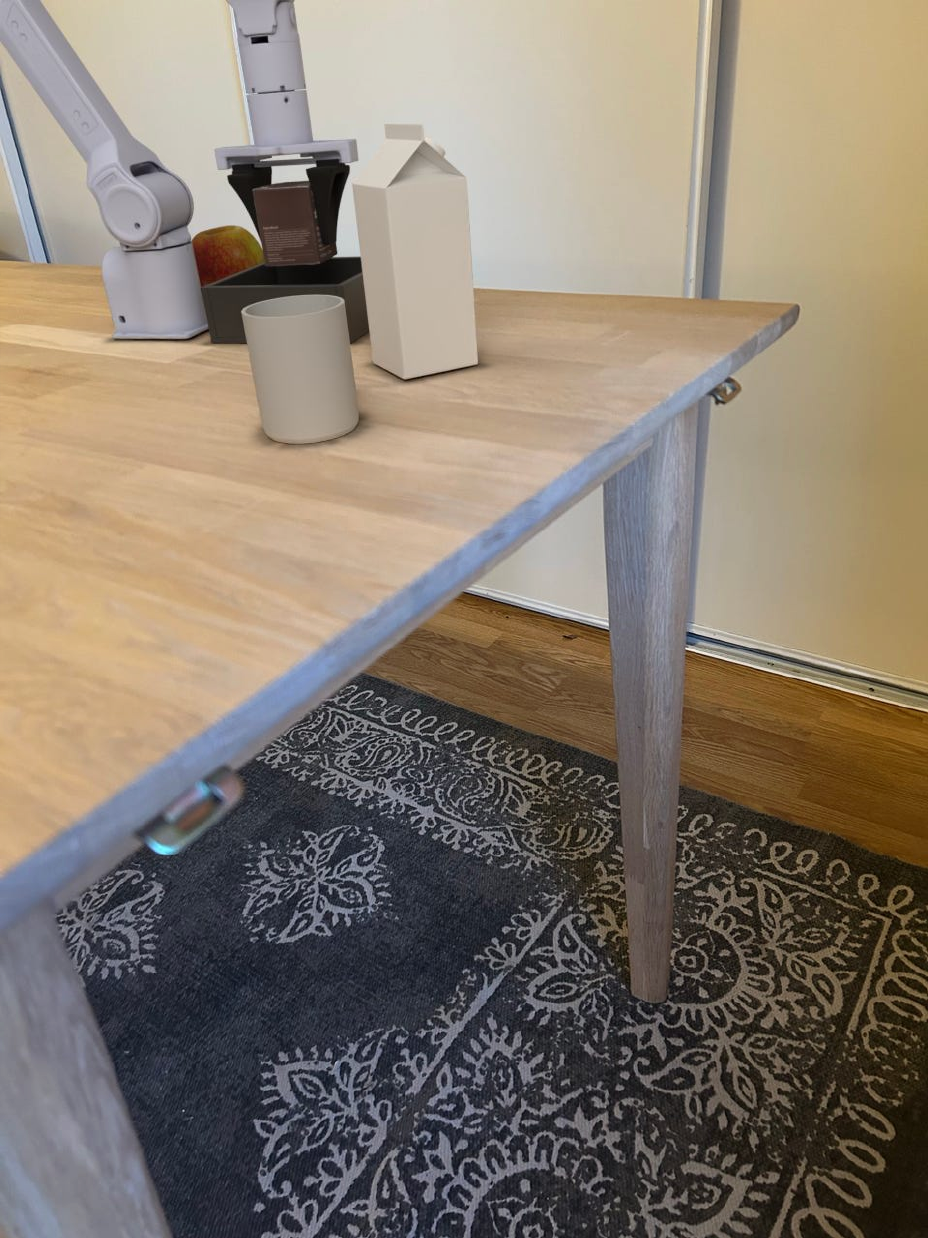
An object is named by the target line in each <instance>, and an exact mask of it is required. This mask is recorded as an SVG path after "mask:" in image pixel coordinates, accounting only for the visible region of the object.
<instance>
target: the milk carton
mask: <svg viewBox="0 0 928 1238" xmlns="http://www.w3.org/2000/svg"><path fill="white" fill-rule="evenodd" d="M424 129H425V127H424V124H411V123H410V124H409V123H385V124H384V133H385V134H384V135H385V140H384V141H383V142H382V143H381V145H380V146H379V147H378V148H377V149H376V151H375V153H373V155H372V156H371V158H370V159H369V160H368V161H367V163H366V164H365V166H364V167H363V168H362V169H361V170H360V172H359V173H358V174H357V175H356V177H355V179H354V180H353V181H352V182H351V187H352V194H353V204H354V211H355V219H356V229H357V237H358V245H359V253H360V255H359V256H361V263H362V272H363V280H364V289H365V298H366V306H367V315H368V323H369V332H368V333H369V340H370V348H371V349H370V350H371V357H372V362H373V364H374V365H376V366H378V367H380V368H381V369H383V370H385V371H388V372H389V373H391V374H393V375H395V376H397V377H399V378H401V379H402V380H409V379H410V380H411V379H413V378H418V377H422V376H423V377H424V376H428V375H434V374H437V373H438V374H439V373H442V372H448V371H452V370H457V369H462V368H466V367H472V366H476V365H478V364H479V357H478V341H477V338H478V337H477V325H476V308H475V289H474V277H473V275H474V274H473V261H472V260H473V259H472V243H471V228H470V226H471V225H470V210H469V195H468V193H469V192H468V183H467V176H465V174H463V173H462V172H461V171H460V170H459V169H457V167H455V166H454V165H453V164H452V163H451V162H449V160H447V158H445V156H446V151H445V149H444V148H443V147H442V146H441V145H440V144H439V143H438V142H437V141H436V140H433V139H431V138H429V137H427V136H425V132H424V131H425V130H424Z"/></svg>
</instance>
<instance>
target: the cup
mask: <svg viewBox="0 0 928 1238" xmlns="http://www.w3.org/2000/svg"><path fill="white" fill-rule="evenodd" d="M241 313H242V319H243V324H244V329H245V335H246V340H247V343H246V345H247V351H248V357H249V362H250V367H251V373H252V377H253V384H254V389H255V395H256V400H257V406H258V409H259V410H258V411H259V416H260V421H261V425H262V429H263V431H264V434H265V435H266V436H267V437H268V438H270V439H271V440H272V441H274V442H278V443H282V444H291V445H294V444H296V445H297V444H298V445H303V444H315V443H320V442H321V443H322V442H326V441H330V440H334V439H337V438H340V437H343V436H345V435H347V434H349V433H350V432H352V431H353V430H354V429H355V428H356V427H357V425H358V423H359V420H360V411H359V401H358V394H357V386H356V379H355V372H354V364H353V363H354V362H353V357H352V349H351V344H350V340H349V332H348V324H347V317H346V309H345V301H344V299H343V298H341V297H337V296H331V295H299V296H289V297H281V298H275V299H270V300H265V301H261V302H258V303H255V304H252V305H249V306H247V307H245V308H243V310H242V311H241Z"/></svg>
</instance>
